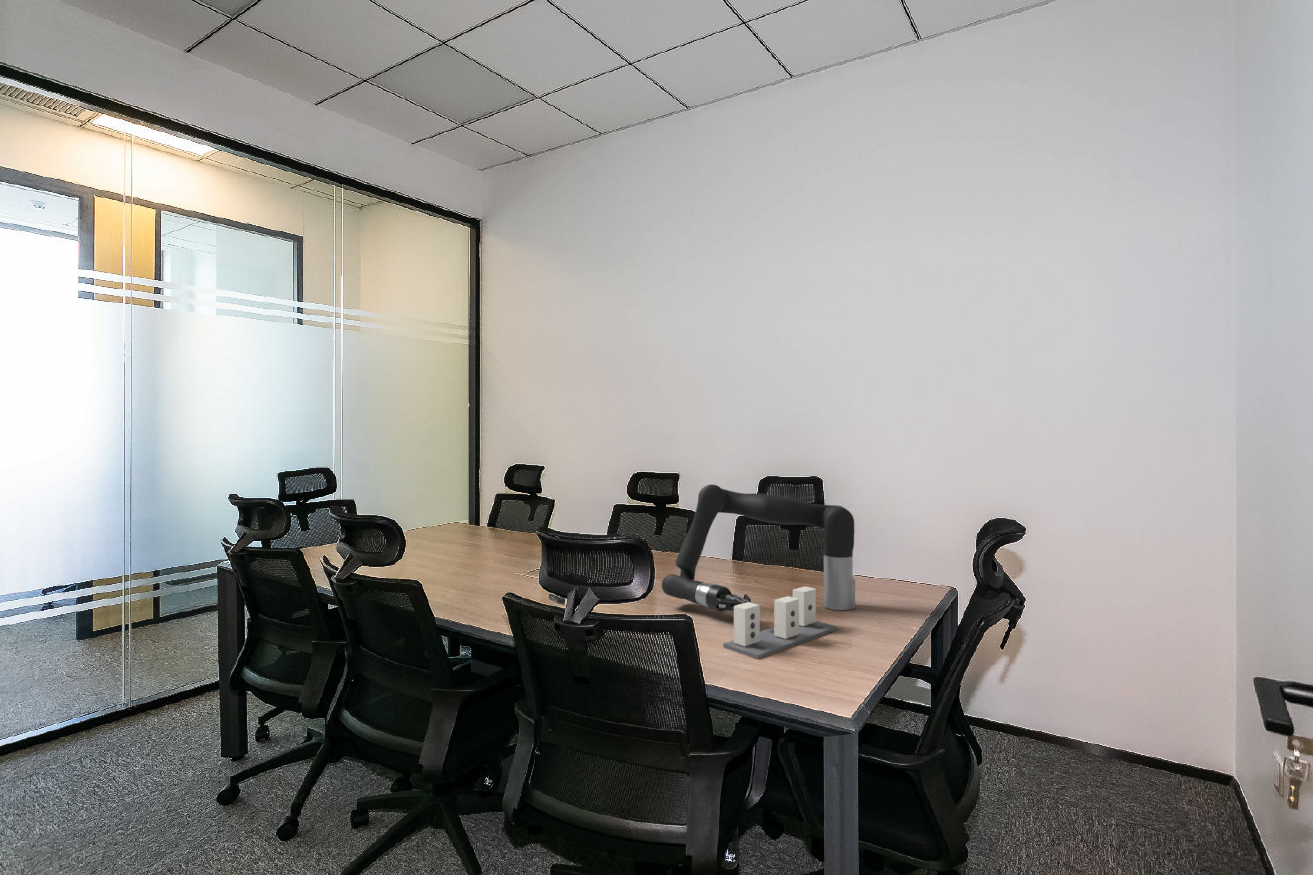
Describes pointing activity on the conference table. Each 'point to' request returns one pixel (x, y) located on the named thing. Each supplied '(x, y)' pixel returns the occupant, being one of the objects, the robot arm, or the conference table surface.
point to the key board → (780, 640)
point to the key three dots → (746, 624)
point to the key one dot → (806, 605)
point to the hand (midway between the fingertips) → (756, 608)
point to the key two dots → (786, 617)
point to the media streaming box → (557, 599)
